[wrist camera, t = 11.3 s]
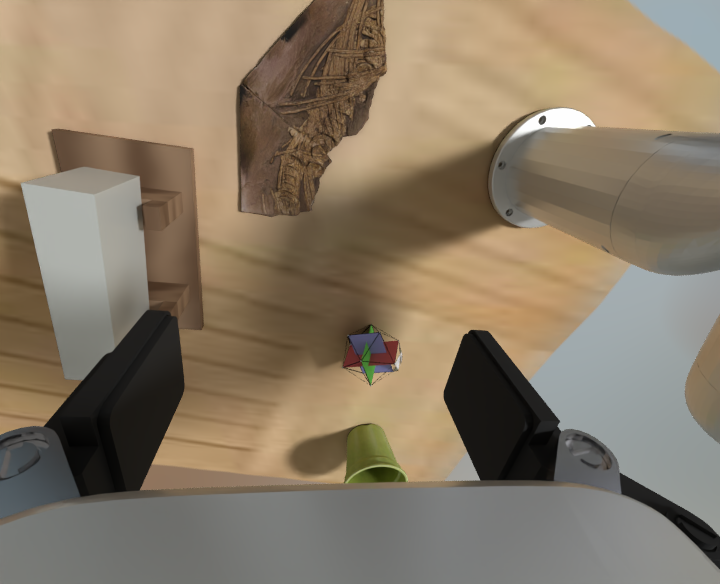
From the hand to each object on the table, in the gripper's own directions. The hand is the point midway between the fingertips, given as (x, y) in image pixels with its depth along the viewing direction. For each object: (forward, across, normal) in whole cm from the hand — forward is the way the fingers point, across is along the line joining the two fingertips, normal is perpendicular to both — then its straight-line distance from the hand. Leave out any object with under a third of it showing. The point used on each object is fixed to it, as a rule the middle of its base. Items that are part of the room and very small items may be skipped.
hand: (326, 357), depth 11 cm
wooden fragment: (+28, +1, -8) cm, 29 cm away
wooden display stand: (+27, +17, +8) cm, 33 cm away
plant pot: (+28, -11, +38) cm, 49 cm away
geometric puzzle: (+28, -8, +19) cm, 35 cm away
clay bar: (+22, +17, +8) cm, 29 cm away
